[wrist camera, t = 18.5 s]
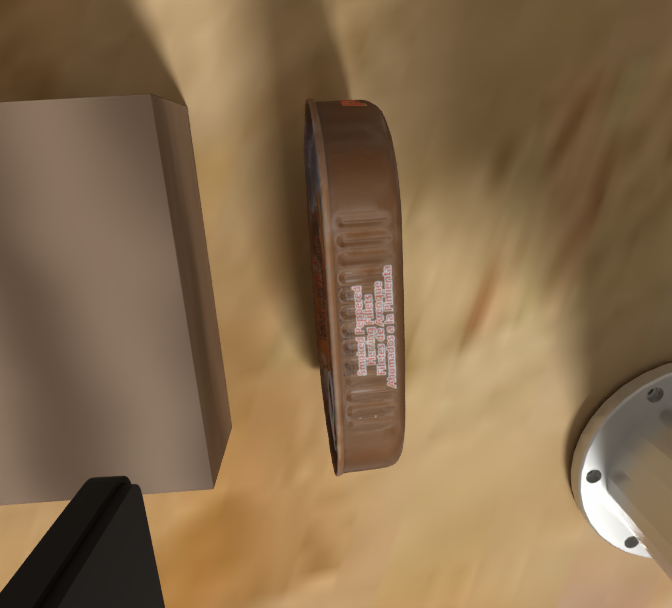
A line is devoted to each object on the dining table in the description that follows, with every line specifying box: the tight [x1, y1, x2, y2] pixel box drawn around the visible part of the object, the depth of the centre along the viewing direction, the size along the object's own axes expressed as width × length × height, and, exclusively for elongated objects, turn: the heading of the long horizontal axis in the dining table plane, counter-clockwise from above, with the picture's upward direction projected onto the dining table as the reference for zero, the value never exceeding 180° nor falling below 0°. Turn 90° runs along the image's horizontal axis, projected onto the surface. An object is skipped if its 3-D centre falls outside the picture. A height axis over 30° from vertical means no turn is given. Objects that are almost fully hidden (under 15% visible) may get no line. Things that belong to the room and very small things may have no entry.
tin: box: [304, 99, 405, 476], centre depth 20 cm, size 15×3×8 cm, turn 3°
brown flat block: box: [0, 94, 232, 505], centre depth 21 cm, size 11×16×5 cm
